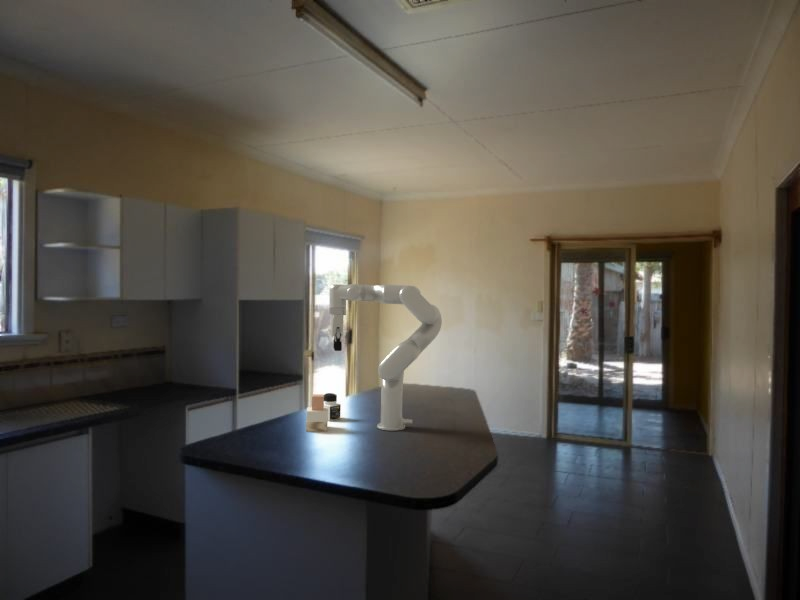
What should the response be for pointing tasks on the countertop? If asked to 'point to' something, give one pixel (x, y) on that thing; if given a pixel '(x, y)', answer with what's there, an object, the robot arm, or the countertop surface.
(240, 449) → the countertop surface
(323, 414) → the cream block
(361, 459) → the countertop surface
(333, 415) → the medicine bottle
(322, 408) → the terracotta block
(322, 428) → the beech block
